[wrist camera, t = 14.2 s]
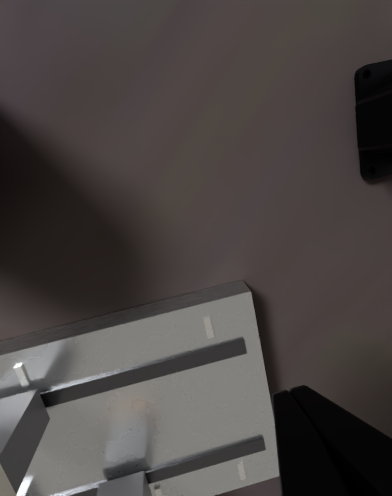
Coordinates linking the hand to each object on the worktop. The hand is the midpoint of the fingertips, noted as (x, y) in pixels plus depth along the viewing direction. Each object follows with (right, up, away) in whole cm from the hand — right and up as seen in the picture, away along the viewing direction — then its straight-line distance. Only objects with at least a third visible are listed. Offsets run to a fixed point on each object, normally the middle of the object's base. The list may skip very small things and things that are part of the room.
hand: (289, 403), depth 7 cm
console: (-7, -8, +14) cm, 18 cm away
